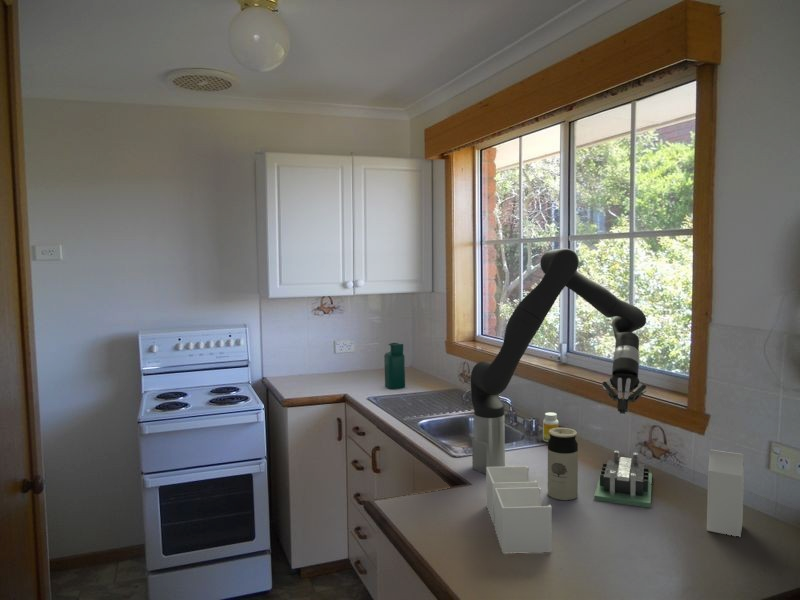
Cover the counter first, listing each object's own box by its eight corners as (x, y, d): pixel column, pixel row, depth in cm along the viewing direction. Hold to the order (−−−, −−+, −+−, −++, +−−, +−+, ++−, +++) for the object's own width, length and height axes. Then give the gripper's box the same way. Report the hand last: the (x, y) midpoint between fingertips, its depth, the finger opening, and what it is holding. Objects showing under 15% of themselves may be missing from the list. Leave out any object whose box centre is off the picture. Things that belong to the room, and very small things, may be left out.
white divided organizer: (486, 506, 162) (486, 466, 161) (527, 505, 162) (527, 465, 161) (502, 554, 137) (502, 508, 136) (551, 553, 137) (551, 506, 136)
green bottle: (383, 386, 300) (382, 342, 298) (399, 384, 303) (398, 340, 301) (391, 390, 291) (390, 345, 289) (407, 388, 294) (406, 343, 292)
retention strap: (620, 460, 179) (620, 456, 178) (631, 461, 177) (631, 458, 177) (616, 479, 164) (617, 476, 164) (628, 481, 163) (628, 477, 163)
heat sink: (647, 499, 161) (647, 475, 160) (598, 493, 166) (598, 469, 165) (648, 476, 177) (649, 454, 176) (603, 470, 181) (604, 449, 181)
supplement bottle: (541, 438, 216) (541, 411, 215) (556, 437, 216) (556, 411, 215) (545, 443, 211) (545, 416, 210) (560, 442, 211) (560, 415, 210)
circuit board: (650, 507, 159) (650, 503, 159) (594, 499, 164) (594, 495, 164) (651, 477, 179) (651, 473, 179) (601, 471, 184) (601, 467, 184)
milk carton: (740, 538, 142) (742, 459, 140) (706, 531, 145) (708, 453, 144) (742, 525, 148) (744, 449, 146) (709, 519, 151) (711, 445, 150)
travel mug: (557, 486, 173) (557, 425, 172) (583, 494, 168) (583, 431, 166) (542, 495, 168) (542, 431, 166) (568, 503, 162) (568, 438, 161)
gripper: (602, 355, 188) (597, 403, 178) (648, 357, 183) (646, 407, 173) (604, 368, 194) (599, 416, 184) (648, 371, 188) (646, 421, 178)
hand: (622, 412), depth 178 cm, fingers closed
